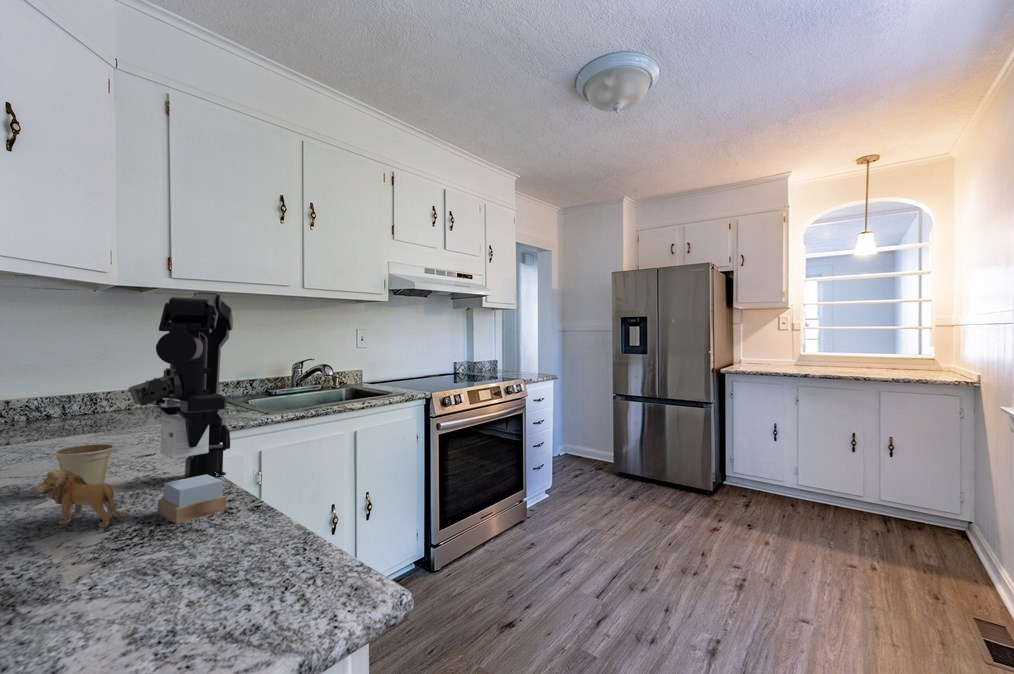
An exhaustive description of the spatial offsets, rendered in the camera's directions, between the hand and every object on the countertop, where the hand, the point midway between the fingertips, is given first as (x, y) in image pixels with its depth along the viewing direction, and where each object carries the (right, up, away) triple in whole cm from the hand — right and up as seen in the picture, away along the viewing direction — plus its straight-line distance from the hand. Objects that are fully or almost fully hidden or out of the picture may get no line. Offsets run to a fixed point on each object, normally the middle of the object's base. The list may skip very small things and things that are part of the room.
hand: (185, 445), depth 83 cm
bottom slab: (+2, -13, -1) cm, 13 cm away
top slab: (+2, -10, -1) cm, 10 cm away
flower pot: (-29, -12, +10) cm, 33 cm away
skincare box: (0, -2, 0) cm, 2 cm away
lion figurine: (-13, -12, -7) cm, 19 cm away
